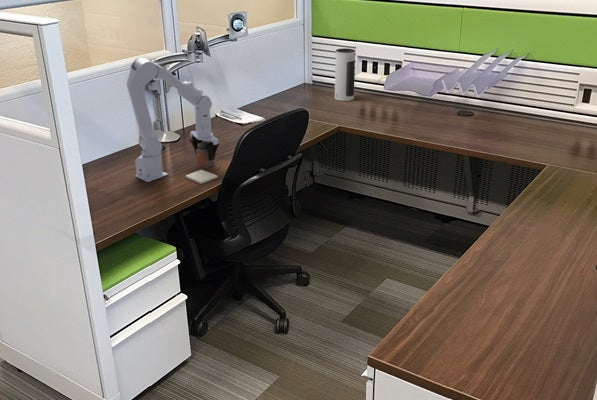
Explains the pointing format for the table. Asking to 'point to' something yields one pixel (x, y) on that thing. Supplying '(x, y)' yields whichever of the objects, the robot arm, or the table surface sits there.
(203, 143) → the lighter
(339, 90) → the speaker
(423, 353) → the table surface
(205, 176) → the tile
